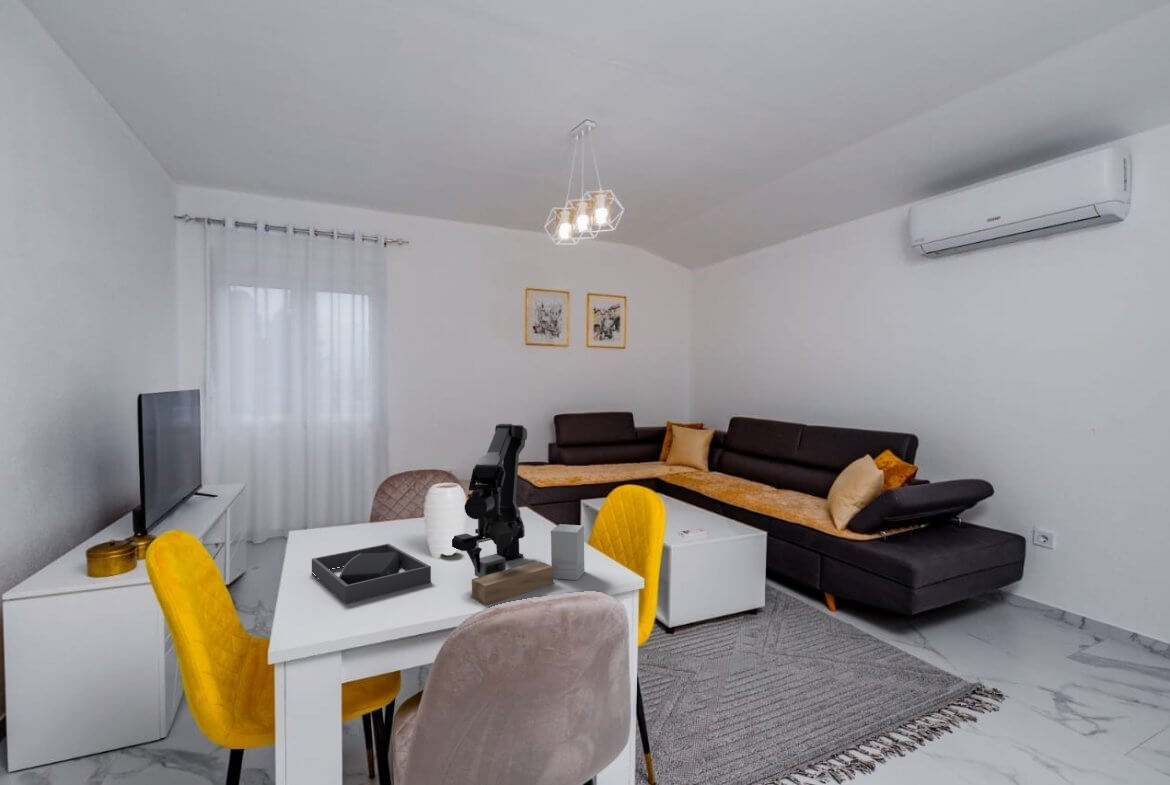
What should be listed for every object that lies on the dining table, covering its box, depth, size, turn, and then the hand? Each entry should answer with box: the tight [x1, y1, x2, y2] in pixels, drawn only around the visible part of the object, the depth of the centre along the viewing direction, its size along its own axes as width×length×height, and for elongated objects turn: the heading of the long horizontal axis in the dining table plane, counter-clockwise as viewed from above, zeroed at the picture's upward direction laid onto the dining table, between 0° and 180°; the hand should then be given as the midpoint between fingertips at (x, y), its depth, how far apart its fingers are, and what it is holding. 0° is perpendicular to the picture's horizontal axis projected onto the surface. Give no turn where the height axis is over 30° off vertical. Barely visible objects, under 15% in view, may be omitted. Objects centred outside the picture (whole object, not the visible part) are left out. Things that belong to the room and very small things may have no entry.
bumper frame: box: [311, 543, 432, 605], centre depth 140 cm, size 28×21×4 cm
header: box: [471, 560, 554, 606], centre depth 132 cm, size 11×20×4 cm, turn 132°
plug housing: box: [474, 553, 507, 578], centre depth 139 cm, size 5×6×4 cm
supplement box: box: [550, 523, 586, 581], centre depth 141 cm, size 7×7×13 cm
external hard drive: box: [338, 552, 400, 585], centre depth 140 cm, size 13×19×4 cm
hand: (489, 569), depth 139 cm, fingers closed on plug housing, 6 cm apart
